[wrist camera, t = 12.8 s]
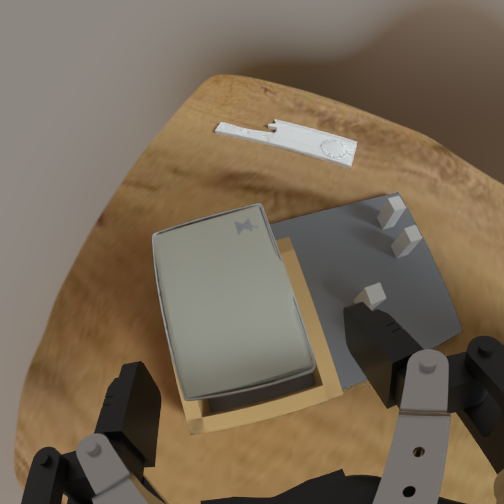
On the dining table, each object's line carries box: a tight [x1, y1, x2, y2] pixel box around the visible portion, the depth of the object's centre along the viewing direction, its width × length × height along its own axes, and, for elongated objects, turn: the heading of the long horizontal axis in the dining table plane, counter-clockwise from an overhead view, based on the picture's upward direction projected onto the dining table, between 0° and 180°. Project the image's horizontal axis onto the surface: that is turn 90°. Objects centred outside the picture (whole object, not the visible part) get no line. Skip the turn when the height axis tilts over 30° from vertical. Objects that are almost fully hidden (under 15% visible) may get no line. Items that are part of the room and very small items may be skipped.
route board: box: [167, 192, 463, 435], centre depth 20 cm, size 22×14×4 cm, turn 106°
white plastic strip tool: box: [215, 119, 357, 169], centre depth 30 cm, size 5×15×1 cm, turn 67°
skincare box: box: [152, 203, 316, 401], centre depth 15 cm, size 6×4×12 cm
